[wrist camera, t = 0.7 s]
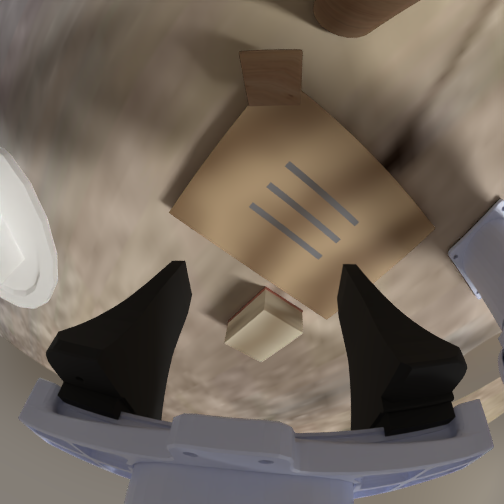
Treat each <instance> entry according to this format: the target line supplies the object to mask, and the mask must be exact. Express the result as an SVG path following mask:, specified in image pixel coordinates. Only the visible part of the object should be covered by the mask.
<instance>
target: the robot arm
mask: <svg viewBox="0 0 504 504" xmlns="http://www.w3.org/2000/svg"><path fill="white" fill-rule="evenodd" d="M502 207H503V208H502ZM455 255H456V256H455ZM448 256H449V257H450V258H451V260H452V261H453V263H454V264H455V265H456V267H457V268H458V270H459V271H460V273H461V274H462V276H463V277H464V279H465V280H466V282H467V283H468V285H469V286H470V288H471V289H472V291H473V293H474V294H475V296H476V297H477V299H481V298H482V299H483V300H484V302H485V303H486V305H487V307H488V308H489V310H490V312H491V313H492V315H493V317H494V318H495V320H496V322H497V323H498V325H499V327H500V329H501V330H502V333H501V335H500V336H499V338H498V340H499V342H500V344H501V346H502V350H501V351H500V353H499V356H498V366H499V373H500V377H501V379H502V382H503V384H504V200H502V199H499V200H498V201H497V202H496V203H495V204H494V205H493V207H492V208H491V209H490V210H489V211H488V212H487V213H486V214H485V215H484V216H483V217H482V218H481V219H480V220H479V221H478V222H477V223H476V224H475V225H474V226H473V227H472V228H471V229H470V230H469V231H468V232H467V233H466V234H465V235H464V236H463V237H462V238H461V239H460V240H459V241H458V242H457V243H456V244H455V245H454V246H453V247H452V248H451V249H450V250H449V251H448ZM454 256H455V257H454ZM191 297H192V293H191V288H190V283H189V278H188V273H187V268H186V263H185V261H172V262H171V263H169V264H168V265H167V266H166V267H165V268H164V269H162V270H161V271H160V272H159V273H158V274H157V275H156V276H154V277H153V278H152V279H151V280H150V281H149V282H148V283H146V284H145V285H144V286H143V287H141V288H140V289H139V290H138V291H136V292H135V293H134V294H133V295H131V296H130V297H129V298H127V299H126V300H124V301H123V302H121V303H120V304H118V305H117V306H115V307H114V308H112V309H110V310H108V311H106V312H105V313H103V314H101V315H99V316H97V317H95V318H93V319H91V320H89V321H87V322H84V323H82V324H80V325H77V326H74V327H71V328H68V329H66V330H63V331H59V332H58V334H57V335H56V337H55V338H54V340H53V342H52V343H51V345H50V346H49V348H48V350H47V351H46V356H47V359H48V362H49V363H50V365H51V366H52V368H53V369H54V370H55V372H56V373H57V374H58V375H59V377H60V378H61V379H62V380H63V382H64V383H63V385H62V387H60V386H59V385H57V384H55V383H53V382H50V381H47V380H45V379H42V378H38V380H37V382H36V384H35V386H34V388H33V390H32V391H31V394H30V395H29V397H28V399H27V401H26V404H25V405H24V407H23V409H22V411H21V413H20V415H19V417H18V418H19V420H20V421H21V422H22V423H23V424H25V425H26V426H27V427H28V428H29V429H30V430H32V431H33V432H34V433H35V434H37V435H38V436H39V437H40V438H42V439H43V440H44V441H45V442H47V443H48V444H50V445H52V446H54V447H57V448H58V449H60V450H63V451H65V452H67V453H69V454H71V455H73V456H75V457H77V458H79V459H81V460H84V461H86V462H88V463H90V464H93V465H95V466H97V467H100V468H102V469H105V470H107V471H110V472H112V473H115V474H118V475H120V476H123V477H126V478H128V479H130V482H129V486H128V490H127V493H126V497H125V501H124V504H354V499H356V498H362V497H366V496H372V495H377V494H381V493H386V492H390V491H394V490H398V489H401V488H405V487H409V486H412V485H416V484H419V483H422V482H426V481H428V480H432V479H435V478H438V477H441V476H444V475H447V474H450V473H453V472H456V471H458V470H461V469H463V468H465V467H466V466H468V465H469V464H471V463H472V462H474V461H476V460H477V459H479V458H480V457H481V456H483V455H484V454H486V453H487V452H489V451H490V450H491V449H493V447H494V445H493V442H492V437H491V434H490V430H489V427H488V424H487V420H486V417H485V414H484V411H483V408H482V405H481V402H480V399H476V400H473V401H469V402H465V403H462V404H459V405H457V406H455V407H454V408H453V406H452V403H451V401H453V400H454V395H453V393H452V391H453V389H454V388H455V387H456V386H457V385H458V383H459V382H460V381H461V380H462V378H463V376H464V375H465V373H466V370H467V364H466V362H465V359H464V357H463V355H462V352H461V350H460V348H459V347H457V346H455V345H453V344H451V343H449V342H447V341H445V340H443V339H441V338H439V337H437V336H435V335H434V334H432V333H430V332H429V331H427V330H425V329H424V328H422V327H421V326H419V325H418V324H416V323H415V322H414V321H412V320H411V319H410V318H408V317H407V316H406V315H405V314H403V313H402V312H401V311H400V310H399V309H397V308H396V307H395V306H394V305H393V304H392V303H391V302H390V301H389V300H388V299H387V298H386V297H385V296H384V295H383V294H382V293H381V292H380V291H379V290H378V289H377V288H376V287H375V285H374V284H373V283H372V282H371V281H370V280H369V279H368V278H367V276H366V275H365V274H364V273H363V272H362V271H361V269H360V268H359V267H358V266H357V265H356V264H343V267H342V273H341V279H340V284H339V290H338V295H337V305H338V314H339V320H340V325H341V329H342V334H343V338H344V343H345V347H346V352H347V357H348V363H349V374H350V389H351V431H339V432H320V433H295V432H294V430H293V428H292V427H291V426H289V425H287V424H284V423H282V422H279V421H271V420H260V419H243V418H230V417H220V416H210V415H202V414H185V413H184V414H181V415H179V416H176V417H174V418H173V422H167V421H162V420H161V418H162V409H163V402H164V395H165V389H166V383H167V378H168V373H169V368H170V364H171V360H172V356H173V353H174V349H175V347H176V344H177V341H178V338H179V336H180V333H181V330H182V328H183V325H184V322H185V319H186V317H187V314H188V310H189V306H190V301H191Z"/></svg>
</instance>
